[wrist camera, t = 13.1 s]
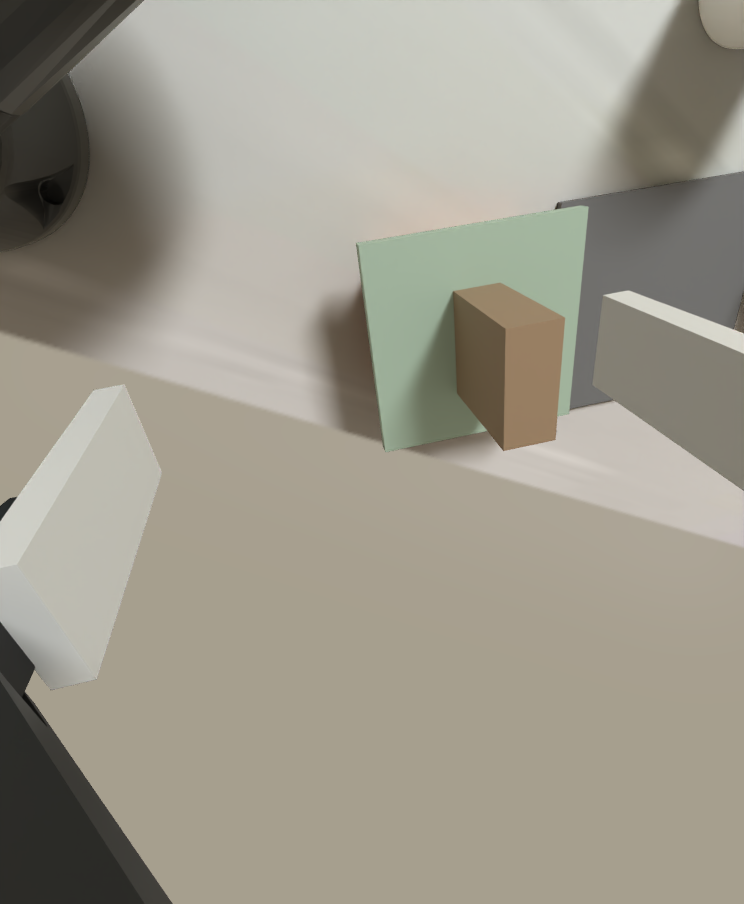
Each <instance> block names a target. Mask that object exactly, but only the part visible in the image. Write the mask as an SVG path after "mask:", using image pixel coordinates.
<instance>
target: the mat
mask: <svg viewBox="0 0 744 904" xmlns="http://www.w3.org/2000/svg"><path fill="white" fill-rule="evenodd" d="M580 205H581V206H587V207H589V208H588V219H587V229H586V240H585V250H584V261H583V271H582V282H581V292H580V303H579V313H578V324H577V334H576V345H575V355H574V366H573V376H572V387H571V397H570V408H569V409H571V408H576V407H581V406H586V405H591V404H595V403H600V402H605V401H610V400H613V399H612V398H611V397H609V396H608V395H606V394H605V393H603V392H602V391H601V390H599V389H598V388H596V387H595V386H593V385H592V384H593V376H594V367H595V359H596V351H597V342H598V334H599V325H600V317H601V309H602V300H603V295H606V294H612V293H617V292H622V291H628V290H629V291H632V292H634V293H637V294H640V295H642V296H645V297H648V298H650V299H653V300H656V301H658V302H661V303H664V304H666V305H669V306H672V307H674V308H677V309H680V310H682V311H685V312H688V313H690V314H693V315H696V316H699V317H701V318H704V319H707V320H709V321H712V322H715V323H717V324H720V325H723V326H725V327H728V328H731V329H733V330H734V326H735V322H736V318H737V315H738V311H739V307H740V303H741V300H742V296H743V292H744V172H738V173H732V174H726V175H720V176H714V177H708V178H702V179H696V180H690V181H684V182H678V183H672V184H666V185H660V186H654V187H648V188H642V189H636V190H630V191H624V192H618V193H612V194H606V195H600V196H594V197H588V198H582V199H576V200H570V201H564V202H558V208H557V209H562V208H568V207H574V206H580Z"/></svg>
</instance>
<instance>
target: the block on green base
mask: <svg viewBox="0 0 744 904" xmlns="http://www.w3.org/2000/svg"><path fill="white" fill-rule="evenodd" d="M588 208H589V207H587V206H581V205H580V206H574V207H568V208H562V209H556V210H550V211H544V212H539V213H533V214H527V215H521V216H515V217H509V218H503V219H497V220H491V221H485V222H479V223H473V224H467V225H461V226H455V227H449V228H443V229H437V230H431V231H425V232H419V233H413V234H408V235H402V236H396V237H390V238H384V239H378V240H372V241H366V242H360V243H356V247H357V255H358V262H359V270H360V277H361V285H362V292H363V300H364V307H365V315H366V322H367V330H368V337H369V345H370V352H371V360H372V367H373V375H374V382H375V390H376V397H377V405H378V412H379V420H380V427H381V435H382V442H383V447H384V450H385V452H389V451H394V450H399V449H404V448H408V447H413V446H418V445H423V444H428V443H432V442H437V441H442V440H447V439H452V438H456V437H461V436H466V435H471V434H476V433H480V432H485V431H488V432H489V434H490V435H491V436H492V437H493V439H494V440H495V441H496V442H497V443H498V445H499V446H500V447H501V448H502V450H503V451H505V450H510V449H515V448H520V447H524V446H529V445H534V444H538V443H543V442H548V441H552V440H555V438H556V425H557V416H562V415H567V414H569V408H570V397H571V387H572V376H573V366H574V355H575V345H576V334H577V324H578V313H579V303H580V292H581V282H582V271H583V261H584V250H585V240H586V229H587V219H588Z"/></svg>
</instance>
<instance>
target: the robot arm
mask: <svg viewBox="0 0 744 904" xmlns="http://www.w3.org/2000/svg"><path fill="white" fill-rule="evenodd" d="M143 1H144V0H0V252H2V251H8V250H13V249H16V248H20V247H22V246H25V245H28V244H30V243H33V242H36V241H38V240H40V239H42V238H44V237H46V236H48V235H49V234H51V233H53V232H54V231H55V230H57V229H58V228H59V227H60V226H61V225H62V224H63V223H64V222H65V221H66V220H67V219H68V218H69V217H70V215H71V214H72V213H73V211H74V210H75V208H76V207H77V205H78V203H79V201H80V199H81V197H82V194H83V191H84V189H85V185H86V181H87V176H88V170H89V140H88V132H87V127H86V122H85V118H84V114H83V110H82V107H81V104H80V101H79V99H78V96H77V93H76V91H75V89H74V86H73V84H72V82H71V80H70V78H69V76H68V74H67V73H68V72H69V71H70V70H71V69H72V68H73V67H74V66H76V65H77V64H78V63H79V62H80V61H81V60H82V59H83V58H84V57H85V56H86V55H87V54H88V53H89V52H90V51H91V50H92V49H93V48H94V47H95V46H97V45H98V44H99V43H100V42H101V41H102V40H103V39H104V38H105V37H106V36H107V35H108V34H109V33H110V32H111V31H112V30H113V29H114V28H115V27H117V26H118V25H119V24H120V23H121V22H122V21H123V20H124V19H125V18H126V17H127V16H128V15H129V14H130V13H131V12H132V11H133V10H134V9H135V8H137V7H138V6H139V5H140V4H141V3H142V2H143ZM592 385H593V386H595V387H596V388H598V389H599V390H601V391H602V392H603V393H605V394H606V395H608V396H609V397H611V398H612V399H613V400H615V401H616V402H618V403H619V404H621V405H622V406H623V407H625V408H626V409H628V410H629V411H631V412H632V413H633V414H635V415H636V416H638V417H639V418H641V419H642V420H643V421H645V422H646V423H648V424H649V425H651V426H652V427H653V428H655V429H656V430H658V431H659V432H661V433H662V434H663V435H665V436H666V437H668V438H669V439H671V440H672V441H673V442H675V443H676V444H678V445H679V446H681V447H682V448H683V449H685V450H686V451H688V452H689V453H691V454H692V455H693V456H695V457H696V458H698V459H699V460H701V461H702V462H703V463H705V464H706V465H708V466H709V467H711V468H712V469H713V470H715V471H716V472H718V473H719V474H720V475H722V476H723V477H725V478H726V479H728V480H729V481H730V482H732V483H733V484H735V485H736V486H738V487H739V488H740V489H742V490H743V491H744V333H741V332H739V331H736V330H733V329H731V328H728V327H725V326H723V325H720V324H717V323H715V322H712V321H709V320H707V319H704V318H701V317H699V316H696V315H693V314H690V313H688V312H685V311H682V310H680V309H677V308H674V307H672V306H669V305H666V304H664V303H661V302H658V301H656V300H653V299H650V298H648V297H645V296H642V295H640V294H637V293H634V292H632V291H629V290H628V291H622V292H617V293H612V294H606V295H603V300H602V309H601V317H600V325H599V334H598V342H597V351H596V359H595V367H594V376H593V384H592ZM161 474H162V472H161V469H160V467H159V464H158V462H157V460H156V457H155V455H154V453H153V450H152V448H151V446H150V444H149V441H148V438H147V436H146V434H145V431H144V429H143V427H142V424H141V422H140V420H139V417H138V415H137V412H136V410H135V408H134V405H133V403H132V401H131V398H130V396H129V394H128V391H127V389H126V387H125V385H119V386H114V387H108V388H102V389H97V390H94V391H93V392H92V393H91V395H90V396H89V398H88V399H87V401H86V402H85V403H84V405H83V406H82V408H81V409H80V410H79V412H78V413H77V414H76V416H75V417H74V419H73V420H72V421H71V423H70V424H69V426H68V427H67V428H66V430H65V431H64V433H63V434H62V436H61V437H60V438H59V440H58V441H57V443H56V444H55V445H54V447H53V448H52V449H51V451H50V452H49V454H48V455H47V456H46V458H45V459H44V461H43V462H42V463H41V465H40V466H39V468H38V469H37V471H36V472H35V473H34V475H33V476H32V477H31V479H30V481H29V482H28V483H27V484H26V486H25V487H24V489H23V490H22V492H21V493H20V494H19V496H18V497H15V498H10V499H8V500H7V501H6V502H5V503H3V504H2V505H1V506H0V904H172V902H171V901H170V899H169V898H168V897H167V895H166V894H165V892H164V891H163V889H162V888H161V886H160V885H159V883H158V882H157V881H156V879H155V878H154V876H153V875H152V873H151V872H150V870H149V869H148V867H147V866H146V865H145V863H144V862H143V860H142V859H141V857H140V856H139V854H138V853H137V852H136V850H135V849H134V847H133V846H132V844H131V843H130V841H129V840H128V838H127V837H126V836H125V834H124V833H123V831H122V830H121V828H120V827H119V825H118V824H117V822H116V821H115V820H114V818H113V817H112V815H111V814H110V812H109V811H108V809H107V808H106V807H105V805H104V804H103V802H102V801H101V799H100V798H99V796H98V795H97V793H96V792H95V791H94V789H93V788H92V786H91V785H90V783H89V782H88V780H87V779H86V778H85V776H84V775H83V773H82V772H81V770H80V769H79V767H78V766H77V765H76V763H75V761H74V760H73V759H72V757H71V756H70V754H69V753H68V751H67V750H66V749H65V747H64V746H63V744H62V743H61V741H60V740H59V738H58V737H57V736H56V734H55V733H54V731H53V730H52V728H51V727H50V725H49V724H48V722H47V721H46V719H45V718H44V716H43V715H42V714H41V712H40V711H39V709H38V708H37V706H36V705H35V703H34V702H33V701H32V700H31V699H30V697H29V696H28V695H27V694H26V693H25V689H26V687H27V685H28V683H29V680H30V678H31V676H32V674H33V671H34V670H35V671H36V672H37V673H38V675H39V676H40V677H41V679H42V680H43V681H44V682H45V684H46V685H47V686H48V687H49V689H50V690H55V689H59V688H63V687H67V686H72V685H76V684H80V683H84V682H88V681H92V680H96V679H97V677H98V674H99V671H100V668H101V664H102V661H103V658H104V655H105V652H106V648H107V645H108V642H109V639H110V636H111V633H112V630H113V626H114V623H115V620H116V617H117V614H118V610H119V607H120V604H121V601H122V598H123V595H124V591H125V588H126V585H127V582H128V579H129V576H130V572H131V569H132V566H133V563H134V560H135V557H136V553H137V550H138V547H139V544H140V541H141V537H142V534H143V531H144V528H145V525H146V521H147V518H148V515H149V512H150V509H151V506H152V502H153V499H154V496H155V493H156V490H157V487H158V484H159V480H160V477H161Z"/></svg>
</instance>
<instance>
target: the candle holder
mask: <svg viewBox="0 0 744 904" xmlns="http://www.w3.org/2000/svg"><path fill="white" fill-rule="evenodd" d="M699 12H700V17H701V21H702V24H703V27H704V29H705V31H706V33H707V34H708V36H709V37H710V38H711V39H712V40H713V41H714V42H715V43H716V44H718V45H720V46H722V47H724V48H728V49H744V0H699Z"/></svg>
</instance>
